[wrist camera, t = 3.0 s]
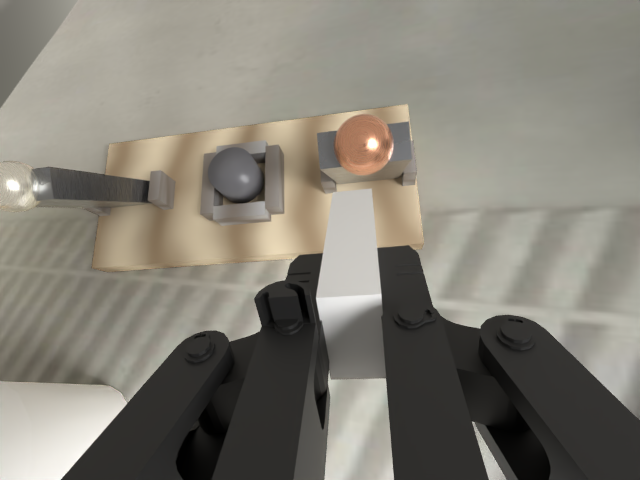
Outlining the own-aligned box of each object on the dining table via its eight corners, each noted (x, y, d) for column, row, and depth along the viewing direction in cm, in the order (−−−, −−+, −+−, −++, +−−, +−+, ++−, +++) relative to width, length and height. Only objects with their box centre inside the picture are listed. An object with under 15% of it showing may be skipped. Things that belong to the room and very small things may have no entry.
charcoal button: (264, 159, 33) (254, 144, 30) (264, 201, 31) (253, 189, 29) (222, 164, 33) (209, 150, 31) (220, 205, 32) (206, 194, 30)
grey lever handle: (159, 175, 35) (20, 152, 21) (163, 209, 35) (28, 208, 21) (111, 181, 35) (-52, 162, 22) (115, 214, 35) (-44, 215, 22)
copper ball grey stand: (395, 148, 31) (411, 99, 18) (398, 186, 31) (416, 166, 18) (337, 155, 32) (309, 113, 18) (340, 191, 32) (315, 177, 19)
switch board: (406, 117, 35) (409, 86, 31) (421, 249, 31) (427, 234, 27) (122, 153, 39) (91, 131, 35) (107, 272, 36) (70, 262, 32)
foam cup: (152, 366, 32) (8, 380, 20) (141, 485, 30) (-31, 585, 18) (58, 368, 34) (-128, 383, 22) (40, 482, 31) (-183, 573, 19)
